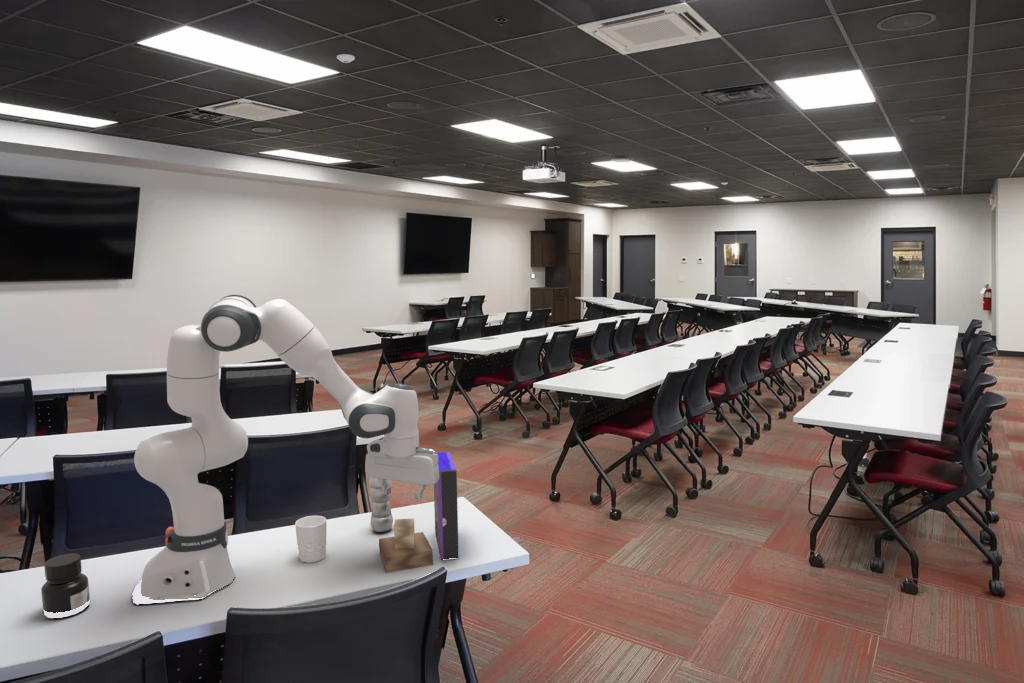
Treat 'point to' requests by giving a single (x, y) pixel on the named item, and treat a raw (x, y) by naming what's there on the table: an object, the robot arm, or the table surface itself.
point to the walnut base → (405, 554)
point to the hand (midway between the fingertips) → (402, 496)
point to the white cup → (311, 538)
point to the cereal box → (446, 507)
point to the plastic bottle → (380, 507)
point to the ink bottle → (64, 584)
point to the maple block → (404, 533)
